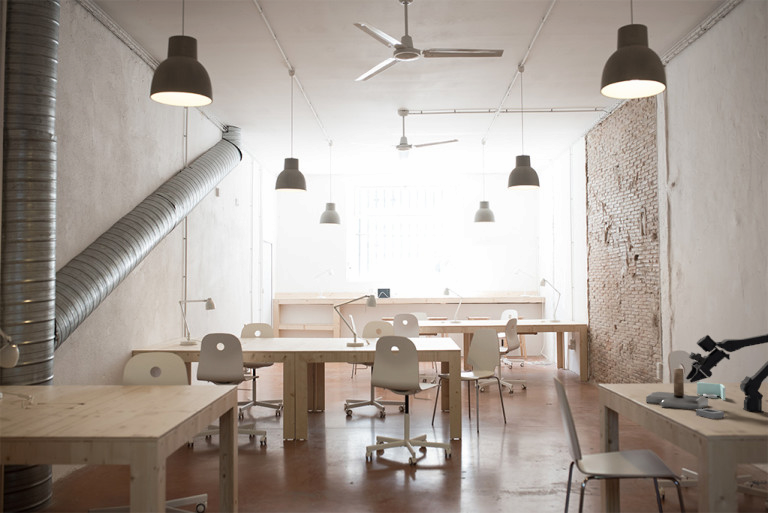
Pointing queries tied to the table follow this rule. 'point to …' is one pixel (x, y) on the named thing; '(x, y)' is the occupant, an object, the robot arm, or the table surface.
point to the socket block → (710, 413)
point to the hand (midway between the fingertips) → (688, 380)
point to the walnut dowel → (678, 382)
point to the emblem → (677, 400)
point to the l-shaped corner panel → (711, 390)
